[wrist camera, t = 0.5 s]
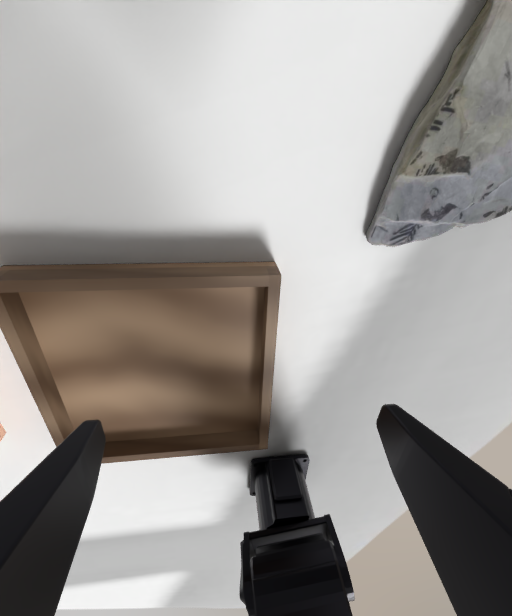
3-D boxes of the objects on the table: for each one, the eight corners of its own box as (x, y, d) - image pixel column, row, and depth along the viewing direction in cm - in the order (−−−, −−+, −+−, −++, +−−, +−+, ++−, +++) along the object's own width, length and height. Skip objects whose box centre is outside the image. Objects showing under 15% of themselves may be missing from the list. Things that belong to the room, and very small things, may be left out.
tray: (263, 427, 31) (267, 449, 29) (76, 442, 29) (65, 466, 27) (274, 261, 22) (281, 275, 20) (3, 265, 20) (-22, 281, 18)
